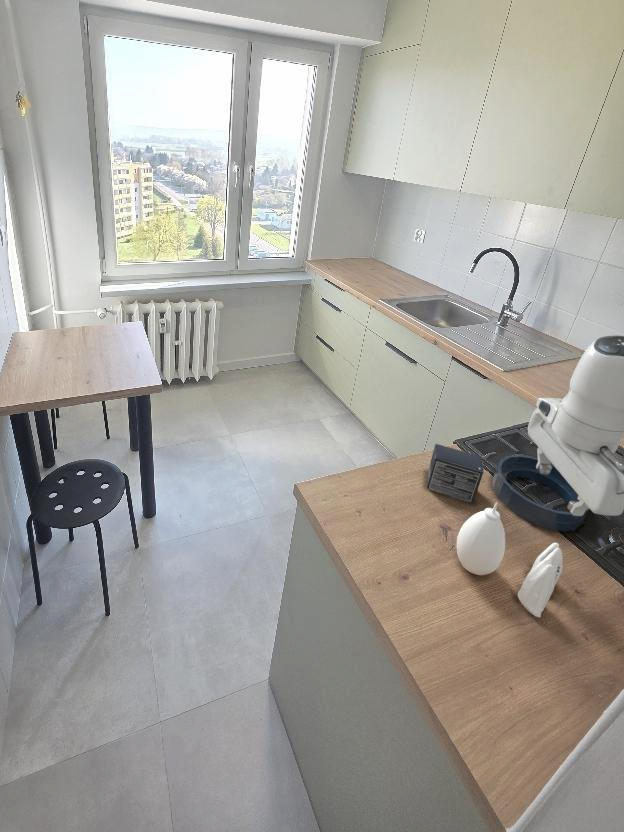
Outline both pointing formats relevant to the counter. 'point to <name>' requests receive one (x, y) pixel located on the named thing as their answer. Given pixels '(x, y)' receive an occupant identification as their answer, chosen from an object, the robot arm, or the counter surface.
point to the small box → (455, 473)
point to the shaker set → (541, 580)
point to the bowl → (528, 508)
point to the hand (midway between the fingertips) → (557, 490)
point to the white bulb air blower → (481, 542)
